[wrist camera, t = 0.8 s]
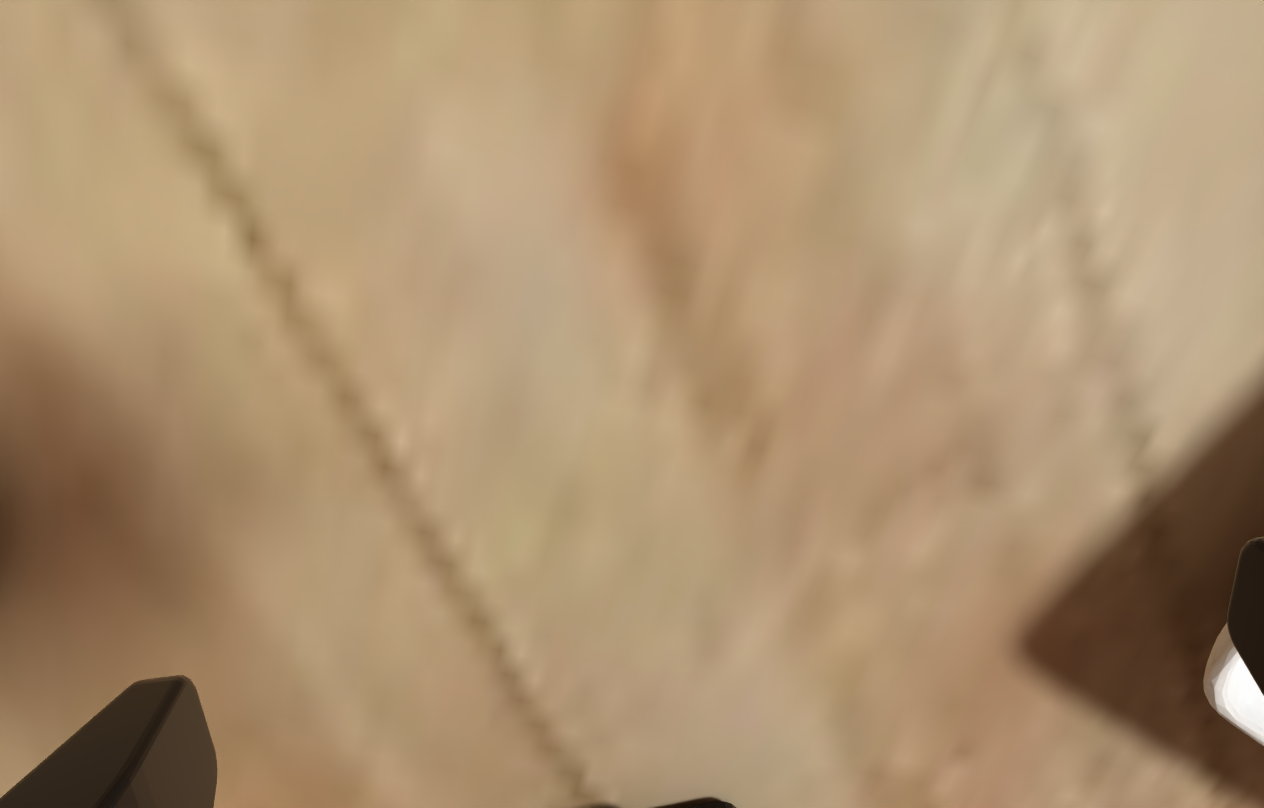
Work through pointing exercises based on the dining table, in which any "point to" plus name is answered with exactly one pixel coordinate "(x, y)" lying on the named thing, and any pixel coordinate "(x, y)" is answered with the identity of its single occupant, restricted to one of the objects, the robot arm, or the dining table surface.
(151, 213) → the dining table surface
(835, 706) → the dining table surface
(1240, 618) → the robot arm
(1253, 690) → the salad plate
